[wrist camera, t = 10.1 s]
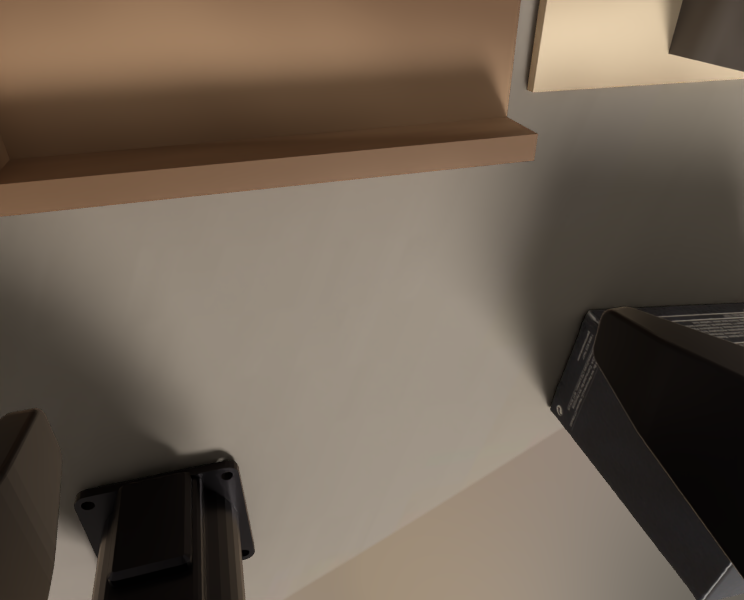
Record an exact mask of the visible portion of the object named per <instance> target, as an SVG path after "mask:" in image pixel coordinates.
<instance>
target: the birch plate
mask: <svg viewBox="0 0 744 600" xmlns="http://www.w3.org/2000/svg"><path fill="white" fill-rule="evenodd" d="M732 79H744V0H540V3H539V10H538V17H537V24H536V31H535V38H534V45H533V52H532V59H531V66H530V73H529V79H528V86H527V90H529V91H531V92H546V91H562V90H577V89H593V88H608V87H624V86H639V85H654V84H670V83H685V82H701V81H716V80H732Z"/></svg>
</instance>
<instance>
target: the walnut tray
mask: <svg viewBox="0 0 744 600" xmlns="http://www.w3.org/2000/svg"><path fill="white" fill-rule="evenodd" d="M520 2H521V0H0V217H2V216H11V215H21V214H30V213H40V212H49V211H59V210H68V209H78V208H87V207H97V206H106V205H116V204H125V203H135V202H144V201H153V200H163V199H172V198H182V197H191V196H201V195H210V194H220V193H229V192H239V191H248V190H258V189H267V188H277V187H286V186H296V185H305V184H315V183H324V182H334V181H343V180H353V179H362V178H372V177H381V176H391V175H400V174H410V173H419V172H429V171H438V170H448V169H457V168H467V167H476V166H486V165H495V164H505V163H514V162H524V161H533V160H534V157H535V150H536V144H537V137H538V134H537V133H535V132H533V131H532V130H530V129H528V128H526V127H524V126H522V125H521V124H519V123H517V122H515V121H513V120H511V119H509V118H508V117H507V111H508V102H509V94H510V86H511V77H512V69H513V61H514V52H515V44H516V36H517V27H518V19H519V10H520Z"/></svg>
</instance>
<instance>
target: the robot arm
mask: <svg viewBox="0 0 744 600" xmlns="http://www.w3.org/2000/svg"><path fill="white" fill-rule="evenodd" d="M593 354H594V358H595V361H596V363H597V364H598V366H599V368H600V370H601V371H602V373H603V375H604V376H605V378H606V380H607V382H608V383H609V385H610V387H611V388H612V390H613V392H614V394H615V395H616V397H617V399H618V400H619V402H620V404H621V406H622V407H623V409H624V411H625V413H626V414H627V416H628V418H629V419H630V421H631V423H632V424H633V426H634V428H635V429H636V431H637V432H638V434H639V435H640V437H641V438H642V440H643V441H644V442H645V444H646V445H647V447H648V448H649V449H650V451H651V452H652V454H653V455H654V456H655V458H656V459H657V460H658V462H659V463H660V465H661V466H662V467H663V469H664V470H665V472H666V473H667V474H668V476H669V477H670V478H671V480H672V481H673V483H674V484H675V485H676V487H677V488H678V489H679V491H680V492H681V494H682V495H683V496H684V498H685V499H686V501H687V502H688V503H689V505H690V506H691V507H692V509H693V510H694V512H695V513H696V514H697V516H698V517H699V519H700V520H701V521H702V523H703V524H704V525H705V527H706V528H707V530H708V531H709V532H710V534H711V535H712V537H713V538H714V539H715V541H716V542H717V543H718V545H719V546H720V548H721V549H722V550H723V552H724V553H725V555H726V556H727V557H728V559H729V560H730V561H731V563H732V564H733V566H734V567H735V568H736V570H737V571H738V573H739V574H740V575H741V577H742V578H743V579H744V346H741V345H739V344H736V343H733V342H730V341H727V340H724V339H721V338H718V337H715V336H713V335H710V334H707V333H704V332H701V331H698V330H695V329H692V328H689V327H687V326H684V325H681V324H678V323H675V322H672V321H669V320H666V319H663V318H660V317H658V316H655V315H652V314H649V313H646V312H643V311H640V310H637V309H634V308H632V307H618V308H612V309H608V310H606V311H604V313H603V314H602V316H601V318H600V322H599V326H598V330H597V334H596V337H595V341H594V345H593ZM225 472H228V473H225ZM61 475H62V454H61V450H60V447H59V445H58V442H57V440H56V438H55V435H54V433H53V431H52V428H51V426H50V424H49V422H48V419H47V417H46V415H45V413H44V412H43V411H42V410H40V409H38V408H33V409H27V410H21V411H15V412H11V413H8V414H6V415H5V416H3V417H2V418H1V419H0V600H48V595H49V591H50V586H51V580H52V574H53V569H54V561H55V552H56V540H57V527H58V514H59V501H60V488H61ZM89 501H90V502H89ZM74 507H75V510H76V513H77V515H78V517H79V519H80V521H81V523H82V526H83V528H84V530H85V532H86V534H87V536H88V539H89V541H90V543H91V545H92V547H93V549H94V552H95V554H96V556H97V558H98V561H97V568H96V575H95V581H94V588H93V595H92V600H245V589H244V577H243V565H242V560H245V559H248V558H250V557H251V556H253V554H254V552H255V549H254V541H253V536H252V531H251V526H250V521H249V516H248V511H247V507H246V502H245V497H244V492H243V487H242V482H241V477H240V472H239V467H238V465H237V463H235V462H234V461H230V460H229V461H222V462H217V463H212V464H207V465H202V466H198V467H193V468H188V469H183V470H178V471H174V472H169V473H164V474H159V475H154V476H150V477H145V478H140V479H135V480H130V481H126V482H121V483H116V484H111V485H106V486H102V487H97V488H92V489H87V490H84V491H81V492H80V493H78V494H77V496H76V500H75V504H74Z"/></svg>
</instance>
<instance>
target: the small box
mask: <svg viewBox="0 0 744 600" xmlns="http://www.w3.org/2000/svg"><path fill="white" fill-rule="evenodd" d="M634 309H637V310H640V311H643V312H646V313H649V314H652V315H655V316H658V317H660V318H663V319H666V320H669V321H672V322H675V323H678V324H681V325H684V326H687V327H689V328H692V329H695V330H698V331H701V332H704V333H707V334H710V335H713V336H715V337H718V338H721V339H724V340H727V341H730V342H733V343H736V344H739V345H741V346H744V303H731V304H710V305H688V306H667V307H646V308H634ZM606 310H608V309H605V310H590V311H589V312H588V313H587V314H586V316H585V318H584V321H583V322H582V326H581V328H580V332H579V335H578V337H577V339H576V342H575V345H574V348H573V351H572V353H571V356H570V358H569V361H568V363H567V366H566V368H565V370H564V373H563V376H562V378H561V381H560V383H559V384H558V387H557V390H556V393H555V395H554V398H553V402H552V404H551V408H550V410H551V411H552V412H553V414H554V415H555V416H556V417H557V418H558V420H559V421H560V422H561V424H562V425H563V426H564V428H565V429H566V430H567V431H568V433H569V434H570V435H571V436H572V438H573V439H574V440H575V442H576V443H577V444H578V445H579V447H580V448H581V449H582V451H583V452H584V453H585V454H586V456H587V457H588V458H589V460H590V461H591V462H592V464H593V465H594V466H595V467H596V469H597V470H598V471H599V473H600V474H601V475H602V476H603V478H604V479H605V480H606V482H607V483H608V484H609V485H610V487H611V488H612V490H613V491H614V492H615V493H616V494H617V496H618V497H619V499H620V500H621V501H622V502H623V503H624V505H625V506H626V507H627V509H628V510H629V511H630V513H631V514H632V515H633V517H634V518H635V519H636V521H637V522H638V523H639V525H640V526H641V527H642V528H643V530H644V531H645V532H646V534H647V535H648V536H649V537H650V539H651V540H652V541H653V543H654V544H655V545H656V547H657V548H658V550H659V551H660V552H661V553H662V555H663V556H664V557H665V558H666V560H667V561H668V562H669V563H670V565H671V566H672V567H673V568H674V570H675V571H676V572H677V574H678V575H679V576H680V578H681V579H682V580H683V582H684V583H685V584H686V585H687V587H688V588H689V590H690V591H691V592H692V594H693V595H694V597H695V599H696V600H720V599H724V598H728V597H732V596H736V595H740V594H743V593H744V579H743V578H742V577H741V575H740V574H739V573H738V571H737V570H736V568H735V567H734V566H733V564H732V563H731V561H730V560H729V559H728V557H727V556H726V555H725V553H724V552H723V550H722V549H721V548H720V546H719V545H718V543H717V542H716V541H715V539H714V538H713V537H712V535H711V534H710V532H709V531H708V530H707V528H706V527H705V525H704V524H703V523H702V521H701V520H700V519H699V517H698V516H697V514H696V513H695V512H694V510H693V509H692V507H691V506H690V505H689V503H688V502H687V501H686V499H685V498H684V496H683V495H682V494H681V492H680V491H679V489H678V488H677V487H676V485H675V484H674V483H673V481H672V480H671V478H670V477H669V476H668V474H667V473H666V472H665V470H664V469H663V467H662V466H661V465H660V463H659V462H658V460H657V459H656V458H655V456H654V455H653V454H652V452H651V451H650V449H649V448H648V447H647V445H646V444H645V442H644V441H643V440H642V438H641V437H640V435H639V434H638V432H637V431H636V429H635V428H634V426H633V424H632V423H631V421H630V419H629V418H628V416H627V414H626V413H625V411H624V409H623V407H622V406H621V404H620V402H619V400H618V399H617V397H616V395H615V394H614V392H613V390H612V388H611V387H610V385H609V383H608V382H607V380H606V378H605V376H604V375H603V373H602V371H601V370H600V368H599V366H598V364H597V363H596V361H595V358H594V354H593V345H594V341H595V337H596V334H597V330H598V326H599V322H600V318H601V316H602V314H603V313H604V311H606Z"/></svg>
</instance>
